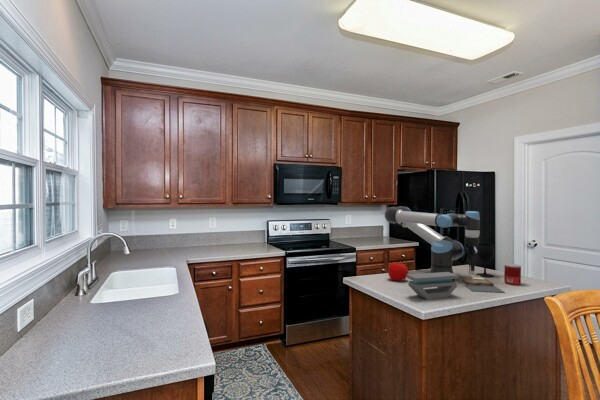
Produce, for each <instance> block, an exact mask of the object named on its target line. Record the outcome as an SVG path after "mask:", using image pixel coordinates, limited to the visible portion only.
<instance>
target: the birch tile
mask: <svg viewBox="0 0 600 400" xmlns="http://www.w3.org/2000/svg"><path fill="white" fill-rule="evenodd" d="M467 278H469V279H470V280H471V281H473V282H477V283H486V279H487V278H485V277H481V276H479V275H476V274H475V275H469V274H468V277H467Z"/></svg>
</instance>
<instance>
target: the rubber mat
mask: <svg viewBox="0 0 600 400" xmlns="http://www.w3.org/2000/svg"><path fill="white" fill-rule="evenodd" d="M464 285H465V284H464ZM465 287H466V288H467V289H469V290H470V291H471V292H473V293H474V292H477V293H478V292H479V293H498V294H499V293H500V294H505V293H506V292H505V291H504V290H502V289H501V288H499V287H497V286H474V285H465Z"/></svg>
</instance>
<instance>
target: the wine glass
mask: <svg viewBox="0 0 600 400" xmlns="http://www.w3.org/2000/svg"><path fill="white" fill-rule="evenodd" d="M476 247H477V250H478V251H479V252H478V256H477V259H479V260H480V261H481V262H482V263H483V266H484V267H483V272H478V273H475V275H479V276H481V277H483V278H485V279H487V278H488V279H491V278H495V275H494V274H490V273H487V264H488V263H490V262H491V261H492V260H493V259H494V257H495V254H496V253H495V247H494V245H493V244H489V243H479V244H476Z"/></svg>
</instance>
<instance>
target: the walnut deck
mask: <svg viewBox="0 0 600 400" xmlns="http://www.w3.org/2000/svg"><path fill="white" fill-rule="evenodd" d="M485 279H486V283H477V282H473V281H471V280H470V279H469V278H468V277H467V278H466V277H461V278H460V282H461V283H463V284H464V285H474V286H494V285H495V283H494V282H492V281H491V280H488V279H487V278H485Z"/></svg>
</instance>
